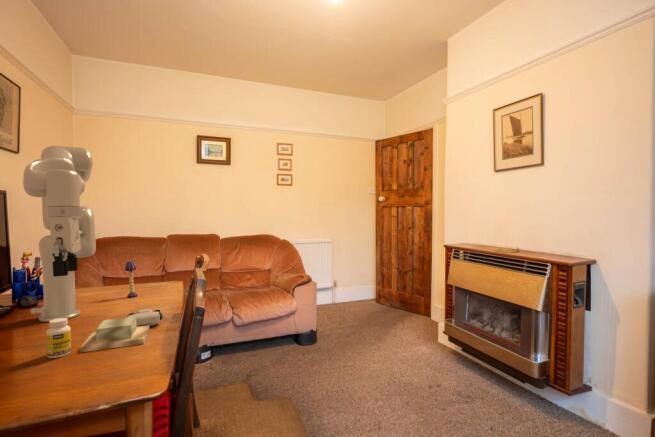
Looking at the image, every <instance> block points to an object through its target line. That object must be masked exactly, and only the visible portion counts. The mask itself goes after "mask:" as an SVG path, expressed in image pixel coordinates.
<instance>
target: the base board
mask: <svg viewBox="0 0 655 437" xmlns="http://www.w3.org/2000/svg"><path fill="white" fill-rule="evenodd" d="M95 329H96V330H95V331H92V332H91V334H90V335H89V336H88V337H87V338H86V340H84V342H83V343H82V345H80V346H79V352H80V353H85V352H93V351H100V350H101V351H102V350H106V349H114V348H123V347H130V346H137V345H143V344H145V343H146V342H145V341H146V339H147V337H148V334H149V332H150V329H151V328H150V326H149V325H143V326H139V327H137V325H136V317H128V316H127V317H119V318H110V319H103V321H102V322H101V323H100V324H99V325H98V326H97V328H95Z"/></svg>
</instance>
